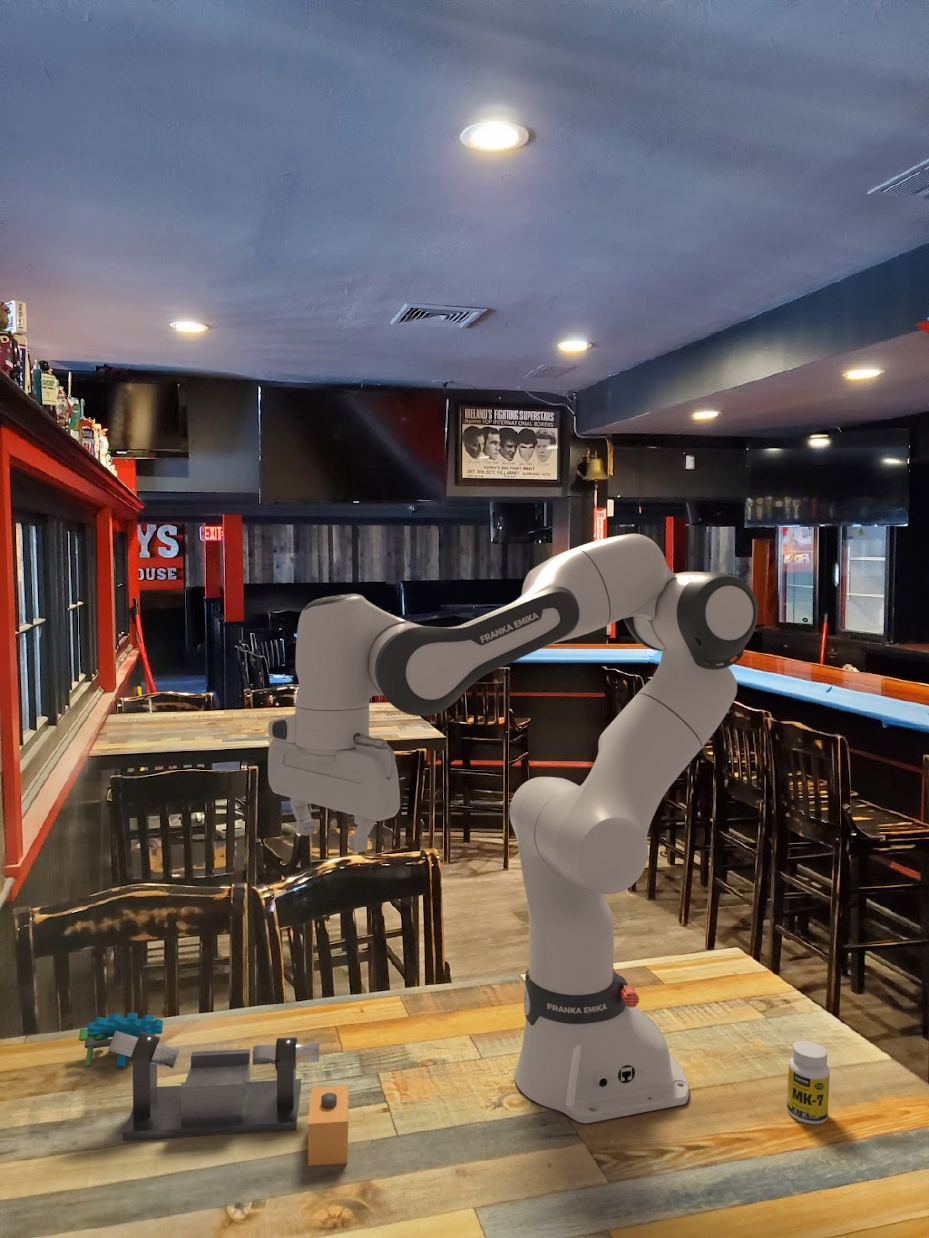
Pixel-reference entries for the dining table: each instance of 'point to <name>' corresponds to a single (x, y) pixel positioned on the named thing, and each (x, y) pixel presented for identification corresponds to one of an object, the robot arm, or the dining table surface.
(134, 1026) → the gear
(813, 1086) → the supplement bottle
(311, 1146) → the block
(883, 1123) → the dining table surface
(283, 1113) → the shaft stand
